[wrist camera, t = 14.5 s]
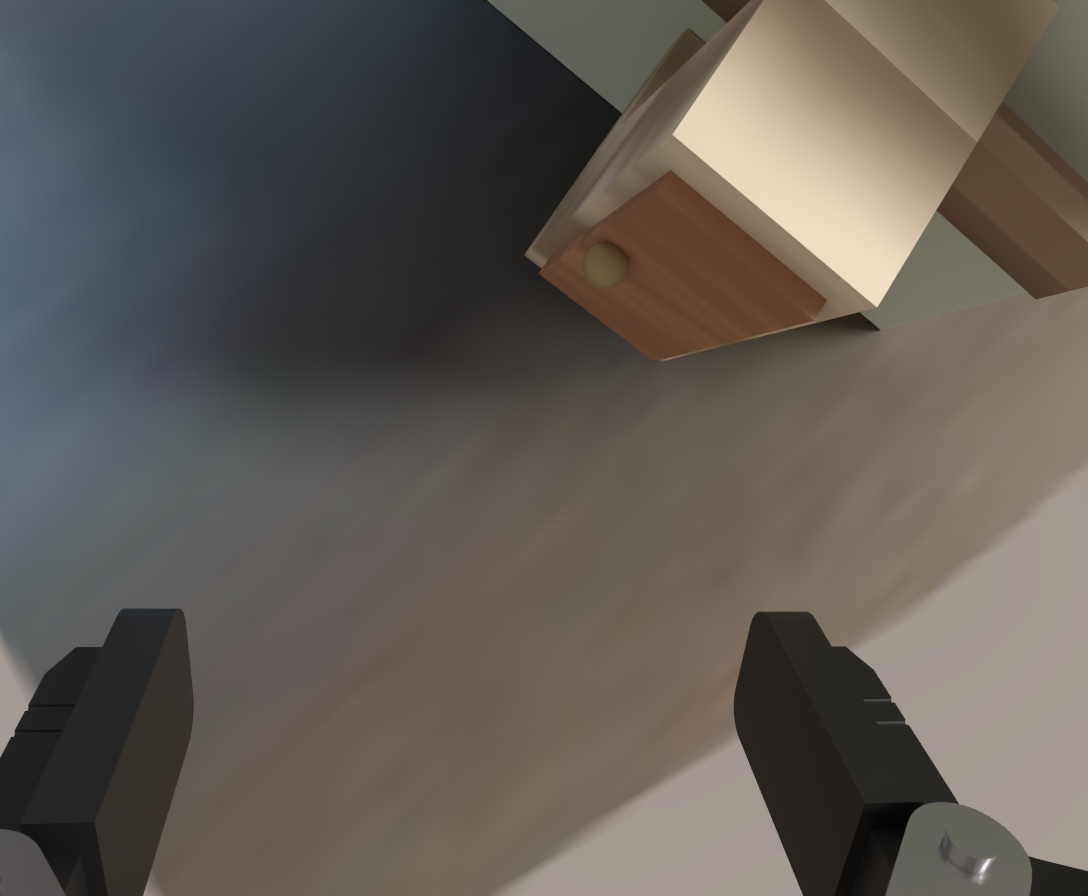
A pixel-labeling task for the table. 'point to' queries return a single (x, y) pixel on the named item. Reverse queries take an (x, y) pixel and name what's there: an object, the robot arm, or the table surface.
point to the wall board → (975, 195)
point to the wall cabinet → (781, 166)
